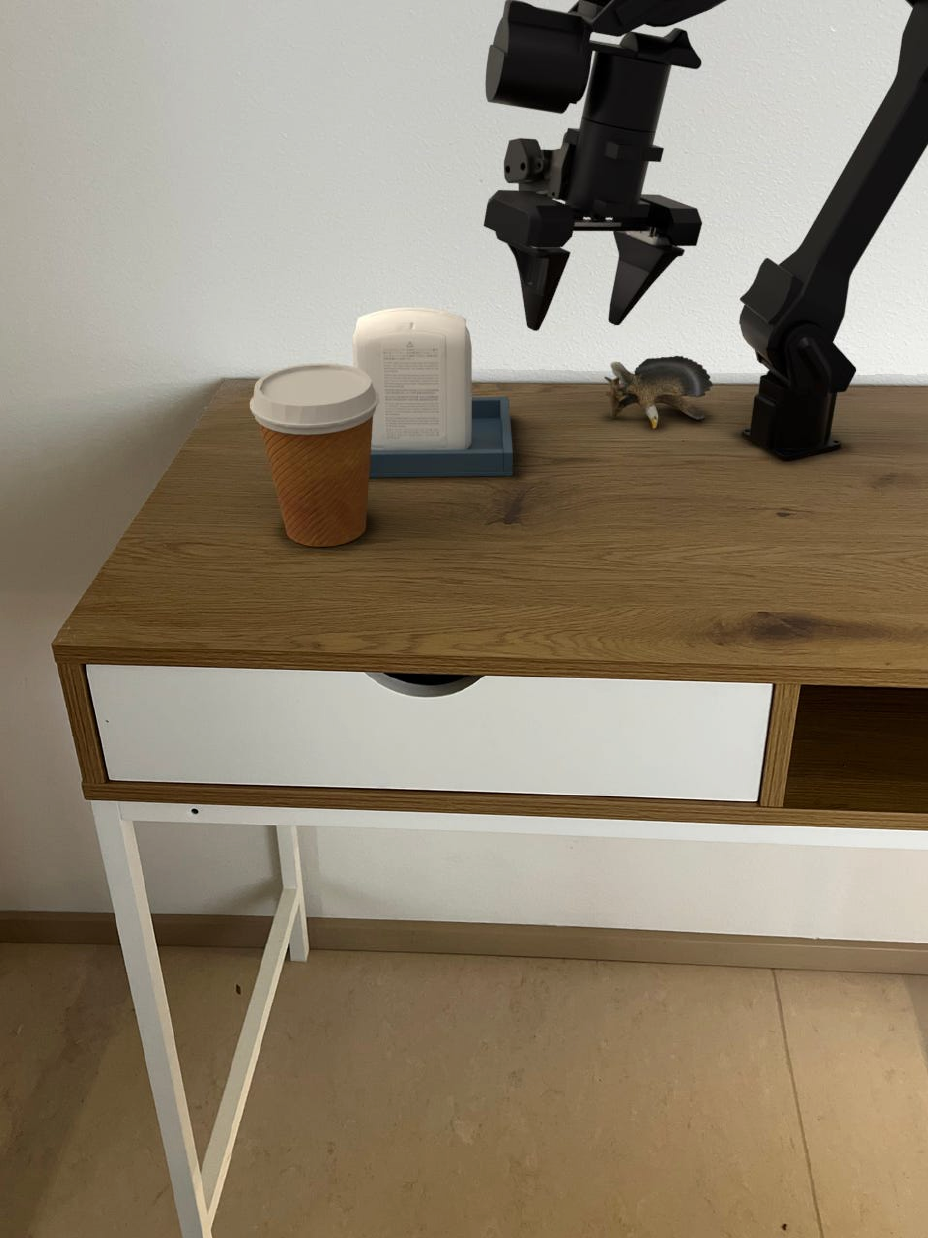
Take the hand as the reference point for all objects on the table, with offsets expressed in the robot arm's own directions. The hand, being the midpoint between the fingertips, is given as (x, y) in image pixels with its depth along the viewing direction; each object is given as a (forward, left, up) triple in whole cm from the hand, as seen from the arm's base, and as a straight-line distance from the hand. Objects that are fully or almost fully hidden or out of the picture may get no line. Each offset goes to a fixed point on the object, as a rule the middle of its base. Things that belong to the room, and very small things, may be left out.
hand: (574, 326), depth 94 cm
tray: (+11, -9, -12) cm, 19 cm away
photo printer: (+11, -8, -12) cm, 18 cm away
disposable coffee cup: (+23, +2, -12) cm, 26 cm away
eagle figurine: (-12, -5, -12) cm, 18 cm away
